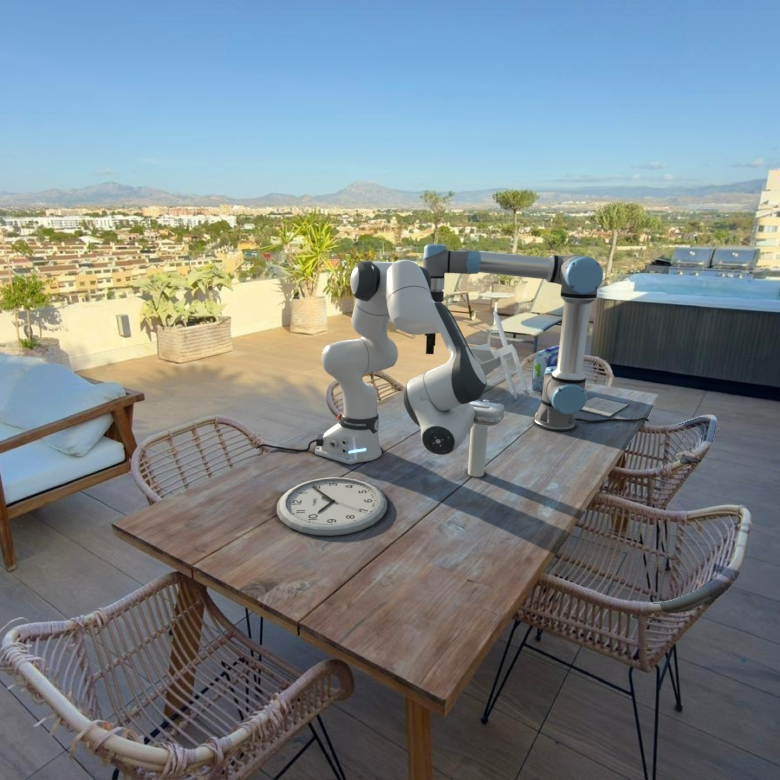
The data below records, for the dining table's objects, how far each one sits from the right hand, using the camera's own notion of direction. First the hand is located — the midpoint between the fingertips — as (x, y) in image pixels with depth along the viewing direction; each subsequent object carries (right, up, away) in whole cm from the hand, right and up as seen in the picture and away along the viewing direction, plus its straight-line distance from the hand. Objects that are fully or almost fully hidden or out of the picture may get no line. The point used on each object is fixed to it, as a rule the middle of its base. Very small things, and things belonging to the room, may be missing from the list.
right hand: (430, 349), depth 189 cm
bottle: (+12, -41, -26) cm, 50 cm away
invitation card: (+77, -22, +38) cm, 88 cm away
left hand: (+6, -17, -52) cm, 55 cm away
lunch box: (+62, -15, +59) cm, 87 cm away
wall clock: (-30, -46, -46) cm, 72 cm away
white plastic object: (+27, -16, +54) cm, 63 cm away
